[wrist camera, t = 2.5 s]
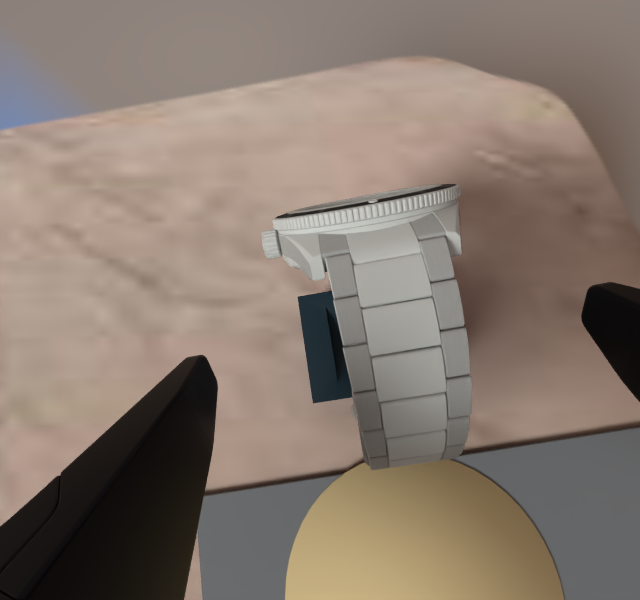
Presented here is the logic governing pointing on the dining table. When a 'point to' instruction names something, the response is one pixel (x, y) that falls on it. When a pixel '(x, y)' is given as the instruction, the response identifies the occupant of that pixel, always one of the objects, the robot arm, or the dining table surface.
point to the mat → (438, 529)
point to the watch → (386, 317)
